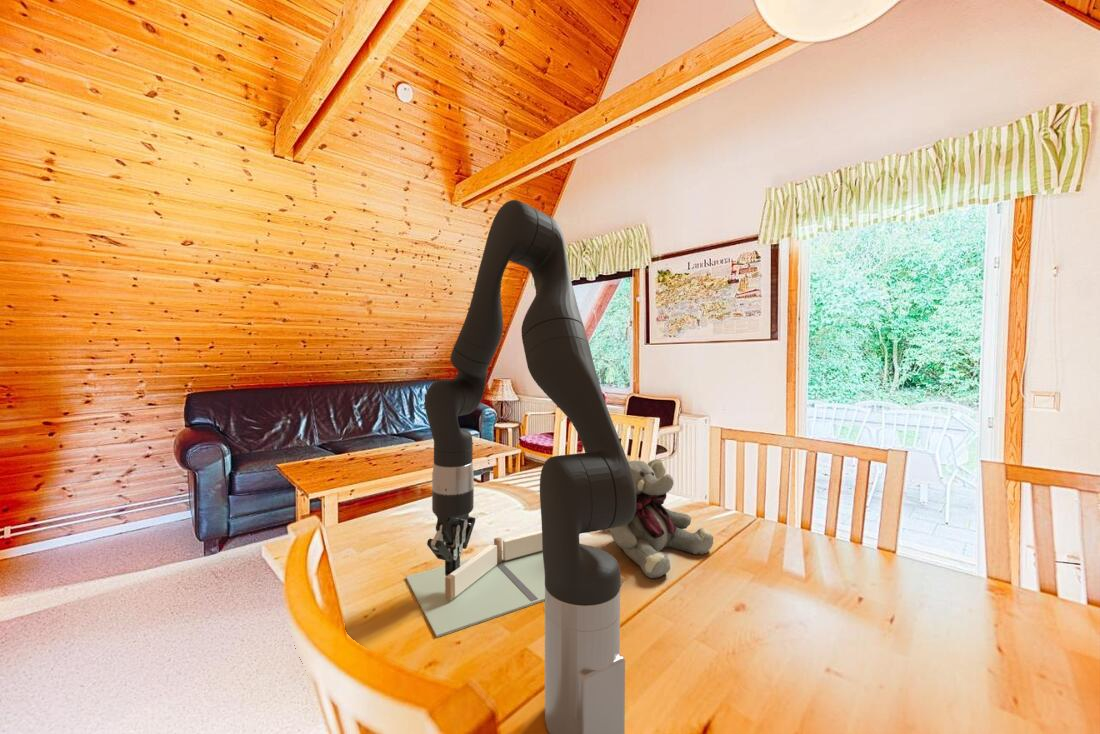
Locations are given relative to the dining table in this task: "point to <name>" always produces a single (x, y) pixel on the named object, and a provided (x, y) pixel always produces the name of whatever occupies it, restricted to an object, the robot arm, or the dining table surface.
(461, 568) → the gate
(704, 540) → the plush elephant
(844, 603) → the dining table surface
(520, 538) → the fence fixed
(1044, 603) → the dining table surface
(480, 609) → the board
